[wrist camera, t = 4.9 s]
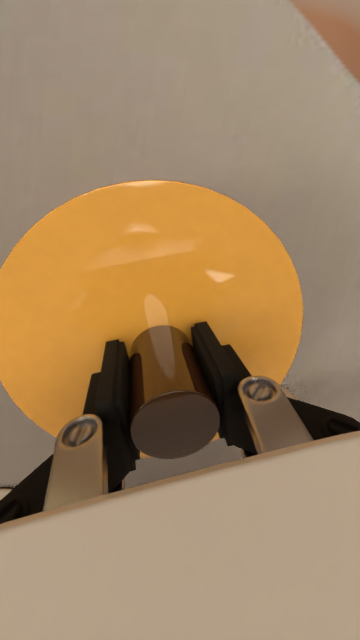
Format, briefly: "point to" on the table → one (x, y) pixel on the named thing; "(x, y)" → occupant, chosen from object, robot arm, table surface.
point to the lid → (144, 306)
